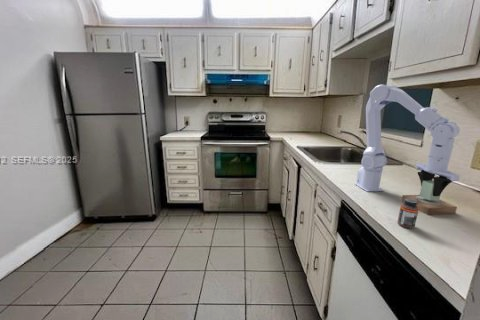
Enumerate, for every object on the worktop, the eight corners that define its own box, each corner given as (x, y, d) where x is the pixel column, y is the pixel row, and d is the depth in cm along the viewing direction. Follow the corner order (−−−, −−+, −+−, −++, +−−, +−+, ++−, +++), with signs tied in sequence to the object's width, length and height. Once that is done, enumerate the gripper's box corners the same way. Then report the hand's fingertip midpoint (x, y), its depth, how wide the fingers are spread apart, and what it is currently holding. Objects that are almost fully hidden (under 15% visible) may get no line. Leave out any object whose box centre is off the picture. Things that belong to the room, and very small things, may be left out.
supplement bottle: (397, 220, 74) (403, 196, 72) (414, 225, 71) (420, 200, 69) (396, 225, 71) (401, 200, 68) (414, 230, 68) (420, 204, 66)
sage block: (419, 195, 85) (422, 180, 83) (429, 195, 85) (432, 180, 84) (429, 200, 81) (433, 184, 80) (439, 199, 82) (443, 184, 80)
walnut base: (401, 201, 89) (402, 194, 88) (426, 200, 90) (428, 194, 89) (427, 214, 78) (428, 207, 78) (455, 213, 79) (457, 206, 79)
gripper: (411, 152, 86) (404, 186, 89) (449, 162, 72) (439, 202, 75) (428, 152, 87) (420, 186, 90) (469, 162, 73) (458, 201, 76)
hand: (430, 193), depth 83 cm, fingers closed on sage block, 4 cm apart
